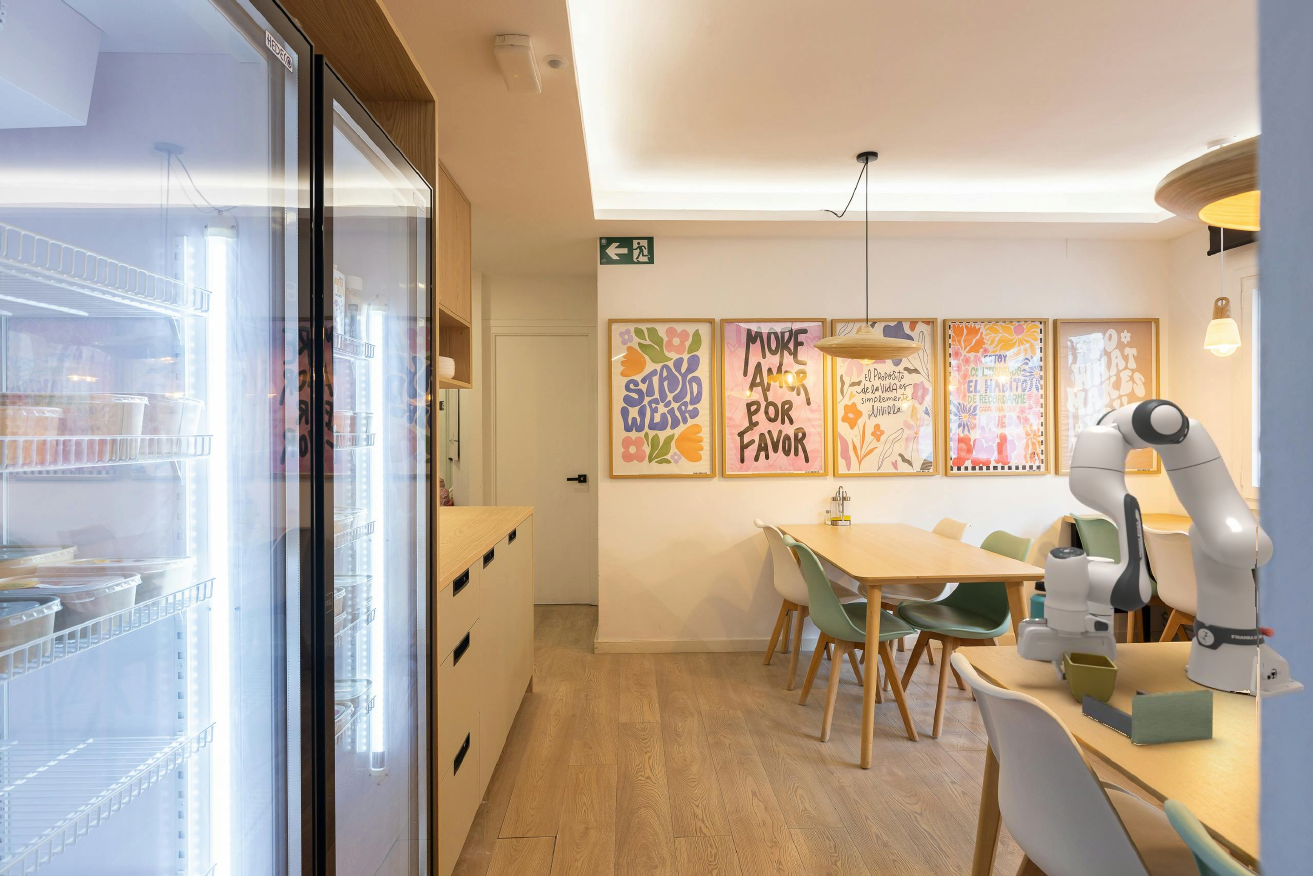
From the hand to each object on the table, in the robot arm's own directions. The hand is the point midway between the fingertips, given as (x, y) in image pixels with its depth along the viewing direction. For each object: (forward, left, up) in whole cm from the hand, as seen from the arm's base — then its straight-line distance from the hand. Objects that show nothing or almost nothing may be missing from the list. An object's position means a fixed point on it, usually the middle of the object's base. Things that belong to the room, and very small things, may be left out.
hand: (1065, 679), depth 154 cm
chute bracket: (0, +20, -2) cm, 20 cm away
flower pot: (0, +7, -2) cm, 7 cm away
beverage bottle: (-10, -18, -2) cm, 21 cm away
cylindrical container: (-28, -20, -2) cm, 35 cm away
